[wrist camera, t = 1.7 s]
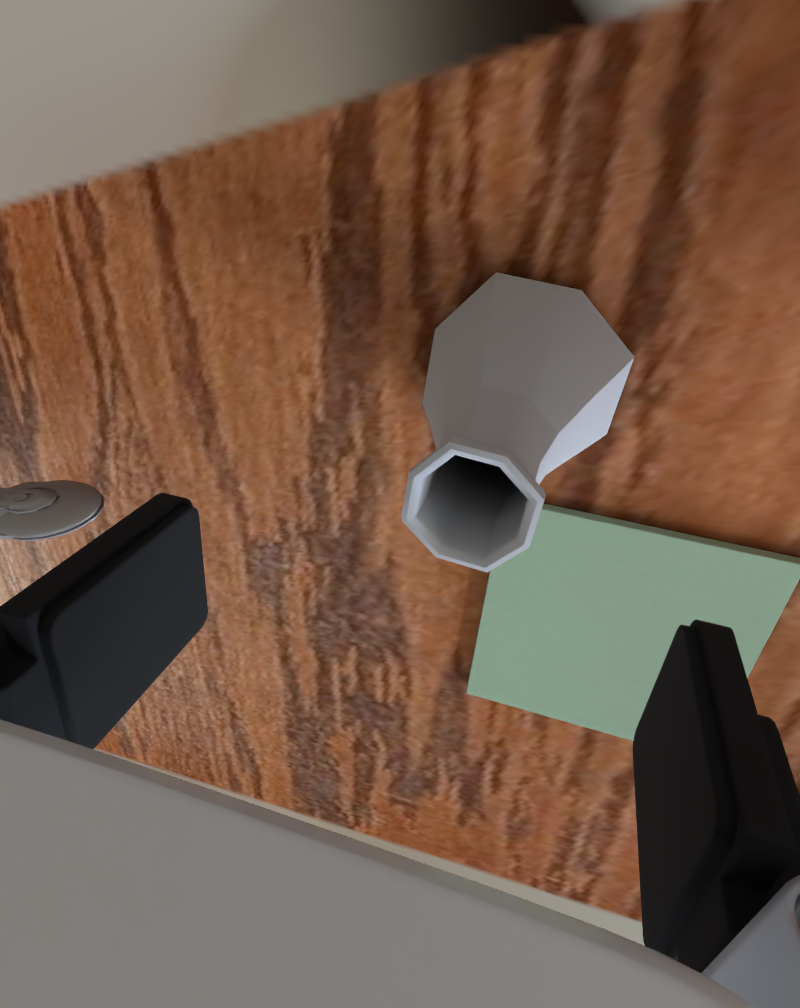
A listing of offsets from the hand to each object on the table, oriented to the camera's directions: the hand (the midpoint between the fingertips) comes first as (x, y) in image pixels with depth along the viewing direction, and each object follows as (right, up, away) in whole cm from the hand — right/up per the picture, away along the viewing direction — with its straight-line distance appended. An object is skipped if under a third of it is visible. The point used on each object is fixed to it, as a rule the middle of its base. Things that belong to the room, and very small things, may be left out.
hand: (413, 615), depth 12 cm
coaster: (+9, -3, +14) cm, 17 cm away
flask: (+4, +7, +11) cm, 13 cm away
